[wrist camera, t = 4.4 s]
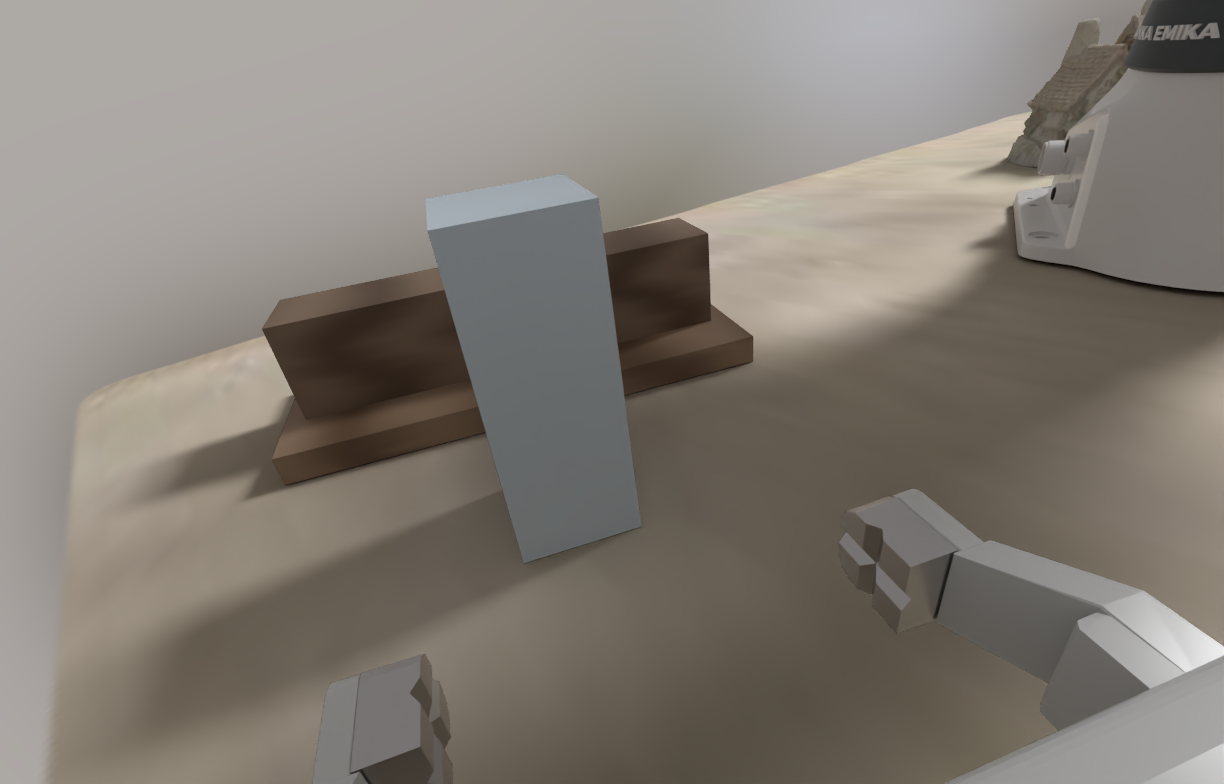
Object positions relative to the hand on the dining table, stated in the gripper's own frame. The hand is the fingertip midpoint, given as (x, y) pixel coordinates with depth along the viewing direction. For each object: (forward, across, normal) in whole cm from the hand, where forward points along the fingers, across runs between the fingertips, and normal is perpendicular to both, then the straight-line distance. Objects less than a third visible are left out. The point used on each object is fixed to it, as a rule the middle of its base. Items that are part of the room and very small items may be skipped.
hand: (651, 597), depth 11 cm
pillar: (+10, 0, +6) cm, 12 cm away
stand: (+22, 0, +6) cm, 23 cm away
